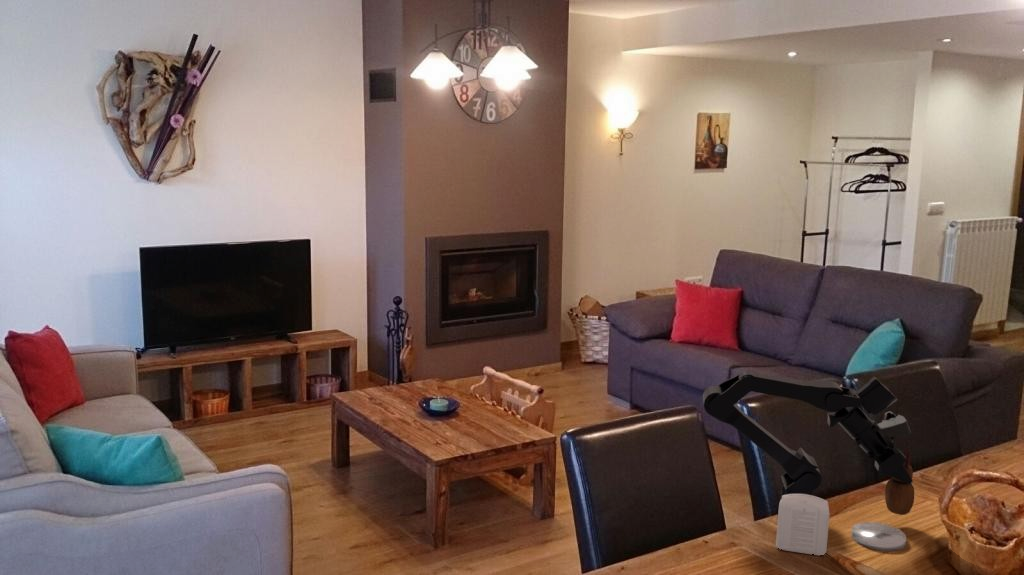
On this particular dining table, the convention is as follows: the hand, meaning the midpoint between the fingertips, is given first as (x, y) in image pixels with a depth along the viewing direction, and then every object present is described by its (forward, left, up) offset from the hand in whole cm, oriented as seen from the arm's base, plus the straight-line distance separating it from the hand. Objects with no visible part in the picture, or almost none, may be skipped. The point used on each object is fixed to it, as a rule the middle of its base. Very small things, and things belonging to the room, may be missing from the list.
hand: (907, 478), depth 202 cm
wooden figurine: (-1, 0, -8) cm, 8 cm away
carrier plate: (-5, -10, -11) cm, 16 cm away
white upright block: (-21, -22, -11) cm, 32 cm away
